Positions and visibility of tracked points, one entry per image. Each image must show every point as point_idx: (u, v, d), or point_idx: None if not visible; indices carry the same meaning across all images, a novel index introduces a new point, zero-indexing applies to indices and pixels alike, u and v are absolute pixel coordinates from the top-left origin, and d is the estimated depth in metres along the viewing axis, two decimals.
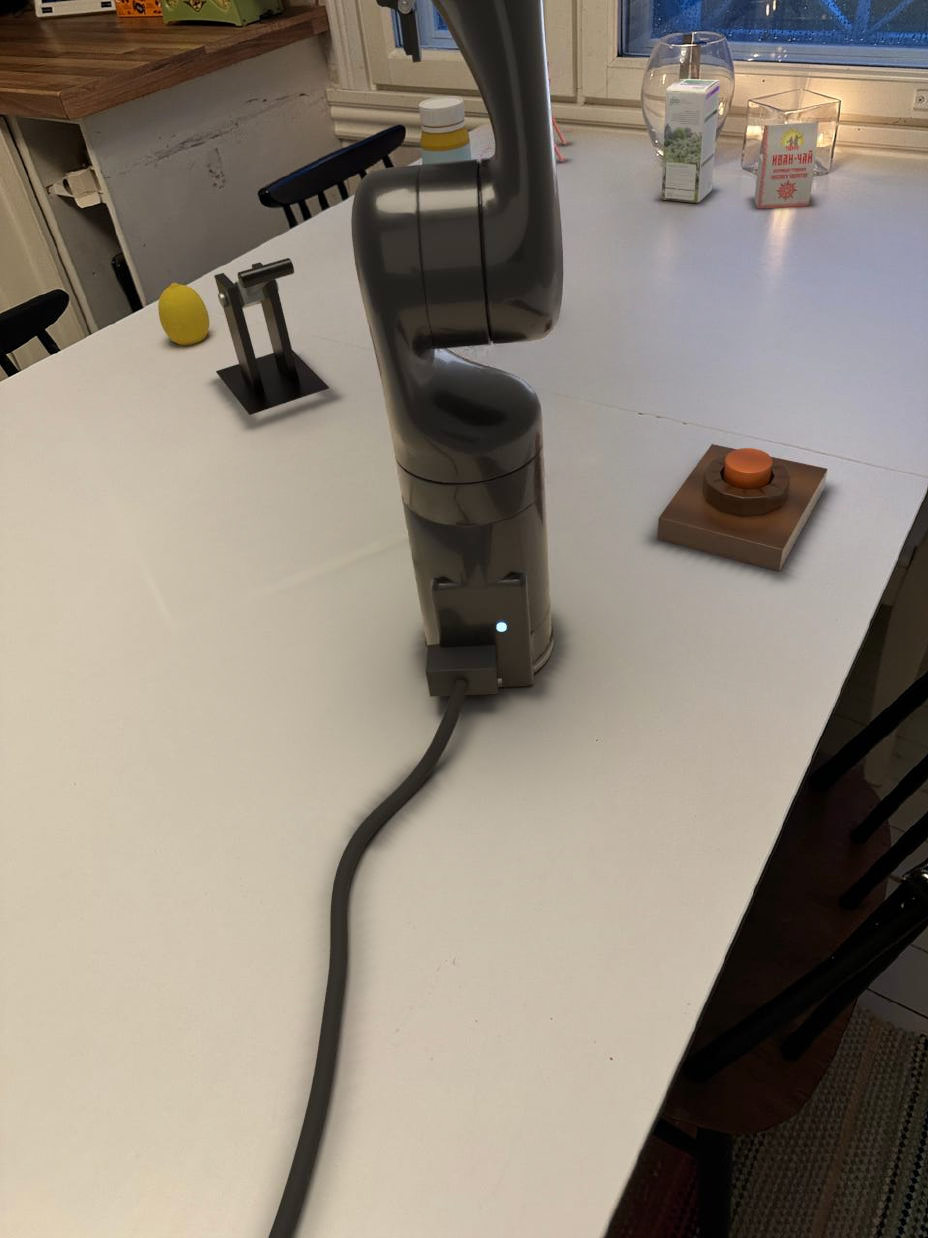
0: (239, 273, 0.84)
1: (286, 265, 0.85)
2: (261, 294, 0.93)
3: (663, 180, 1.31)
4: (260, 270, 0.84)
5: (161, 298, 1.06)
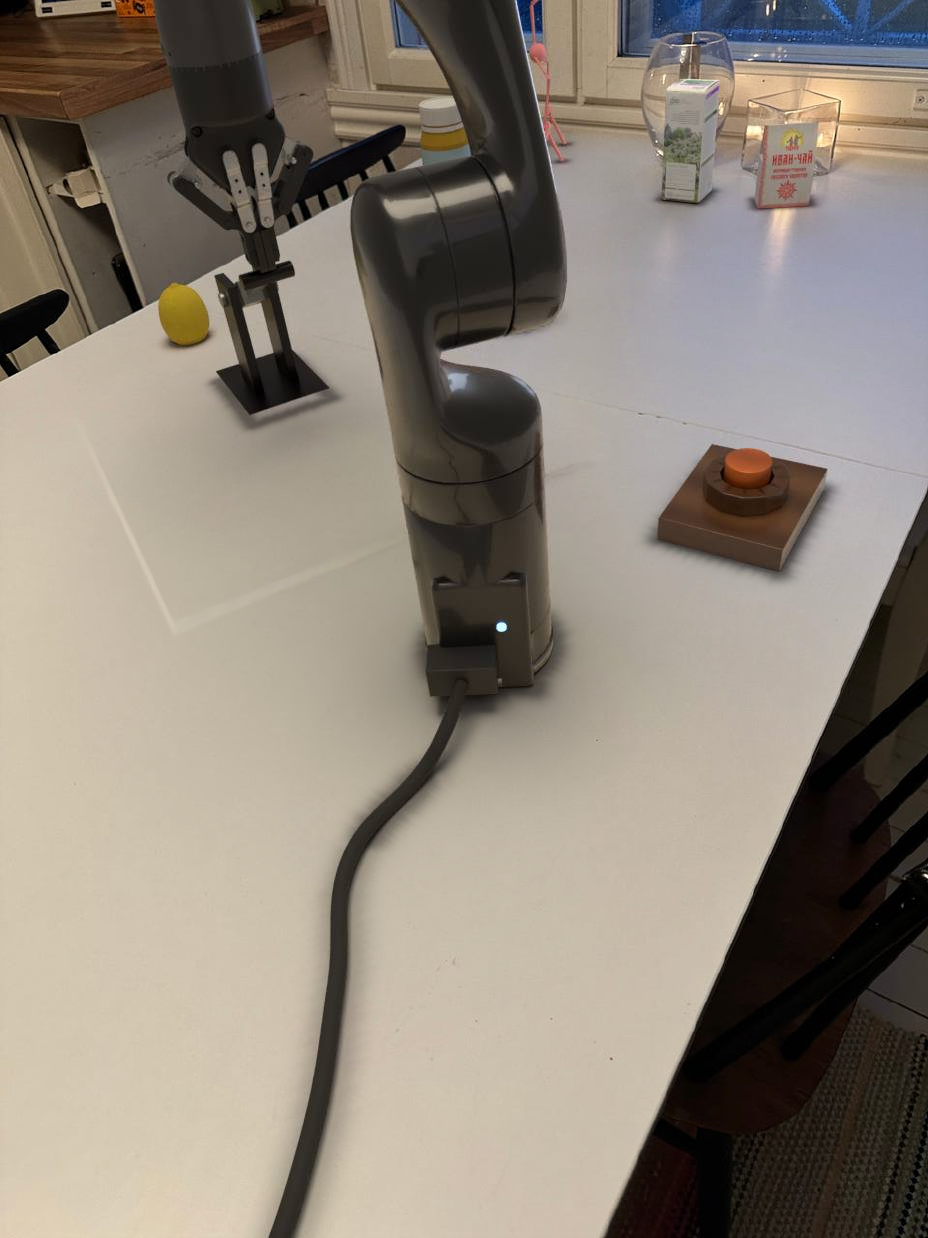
0: (240, 276, 0.84)
1: (287, 267, 0.85)
2: (261, 294, 0.93)
3: (663, 180, 1.31)
4: (261, 273, 0.84)
5: (161, 298, 1.06)
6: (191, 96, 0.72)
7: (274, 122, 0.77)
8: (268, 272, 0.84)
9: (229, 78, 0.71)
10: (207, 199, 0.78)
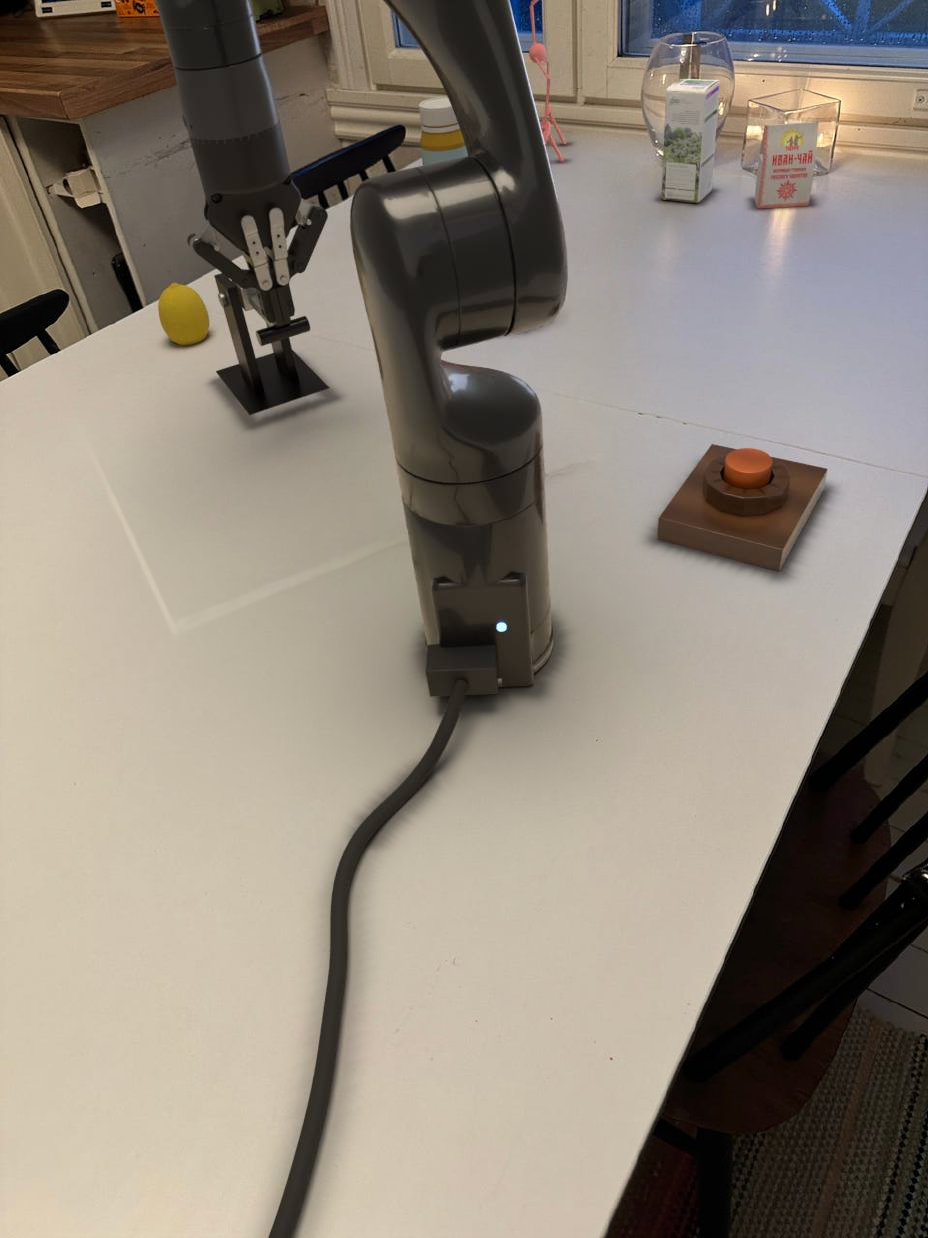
0: (259, 334, 0.86)
1: (304, 327, 0.88)
2: None
3: (663, 180, 1.31)
4: (279, 332, 0.87)
5: (161, 298, 1.06)
6: (212, 166, 0.75)
7: (290, 187, 0.80)
8: (286, 332, 0.87)
9: (248, 150, 0.74)
10: (226, 260, 0.81)
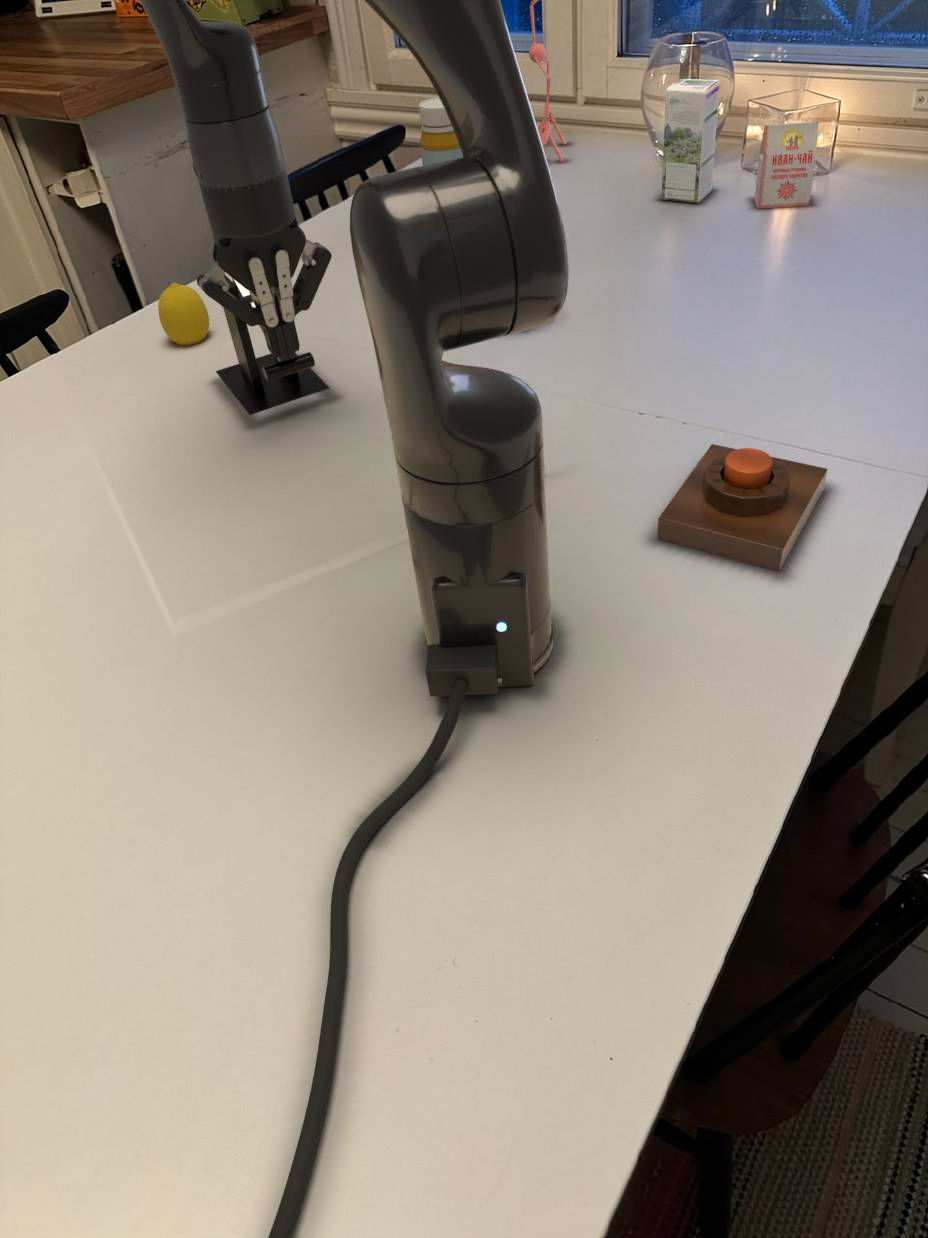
0: (266, 373, 0.90)
1: (309, 365, 0.92)
2: None
3: (663, 180, 1.31)
4: (285, 371, 0.91)
5: (161, 298, 1.06)
6: (221, 213, 0.78)
7: (296, 230, 0.83)
8: (292, 370, 0.91)
9: (256, 197, 0.77)
10: (233, 300, 0.84)
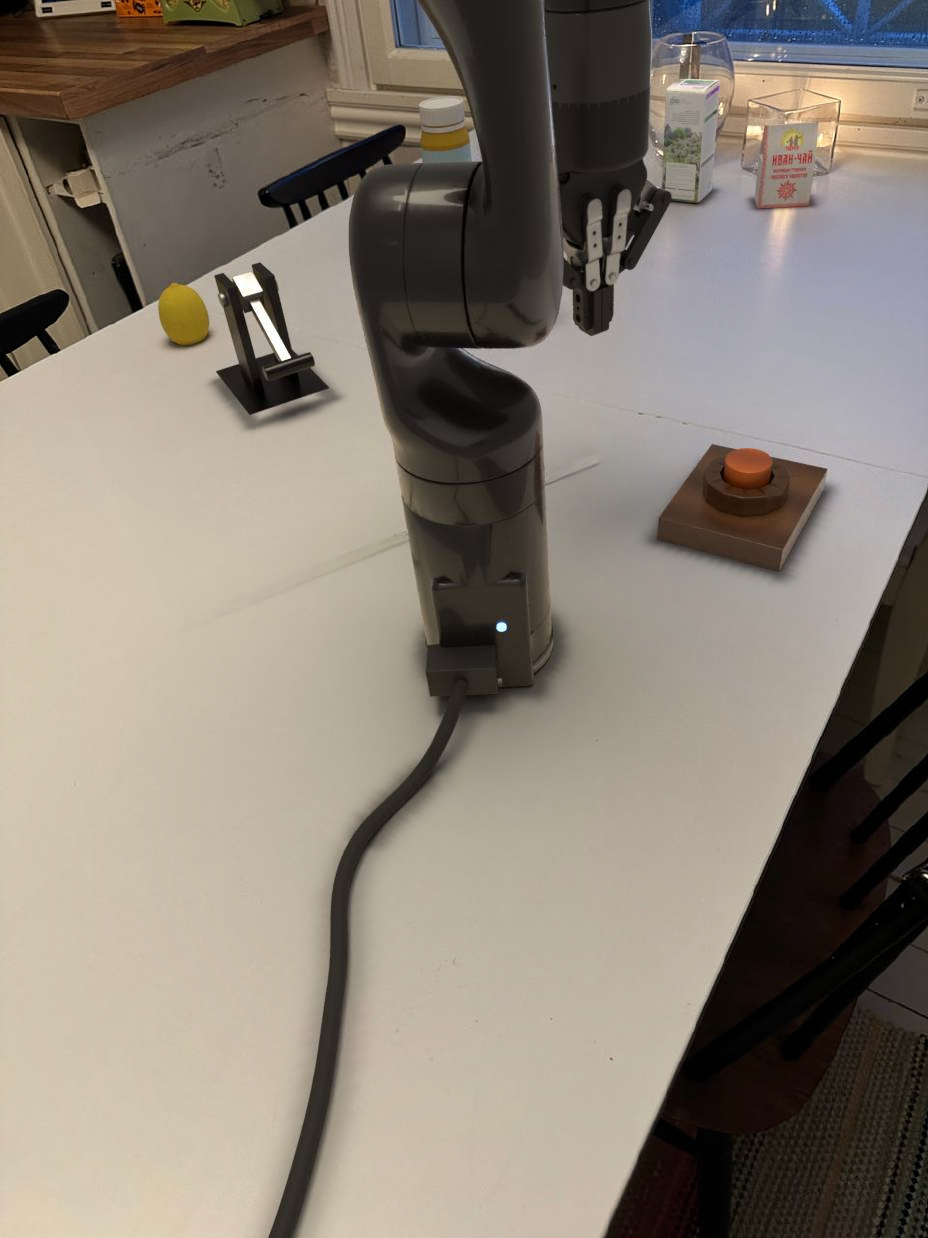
0: (266, 373, 0.90)
1: (309, 365, 0.92)
2: (262, 304, 0.95)
3: (663, 180, 1.31)
4: (285, 371, 0.91)
5: (161, 298, 1.06)
6: (573, 137, 0.60)
7: (641, 164, 0.65)
8: (292, 370, 0.91)
9: (623, 116, 0.59)
10: None
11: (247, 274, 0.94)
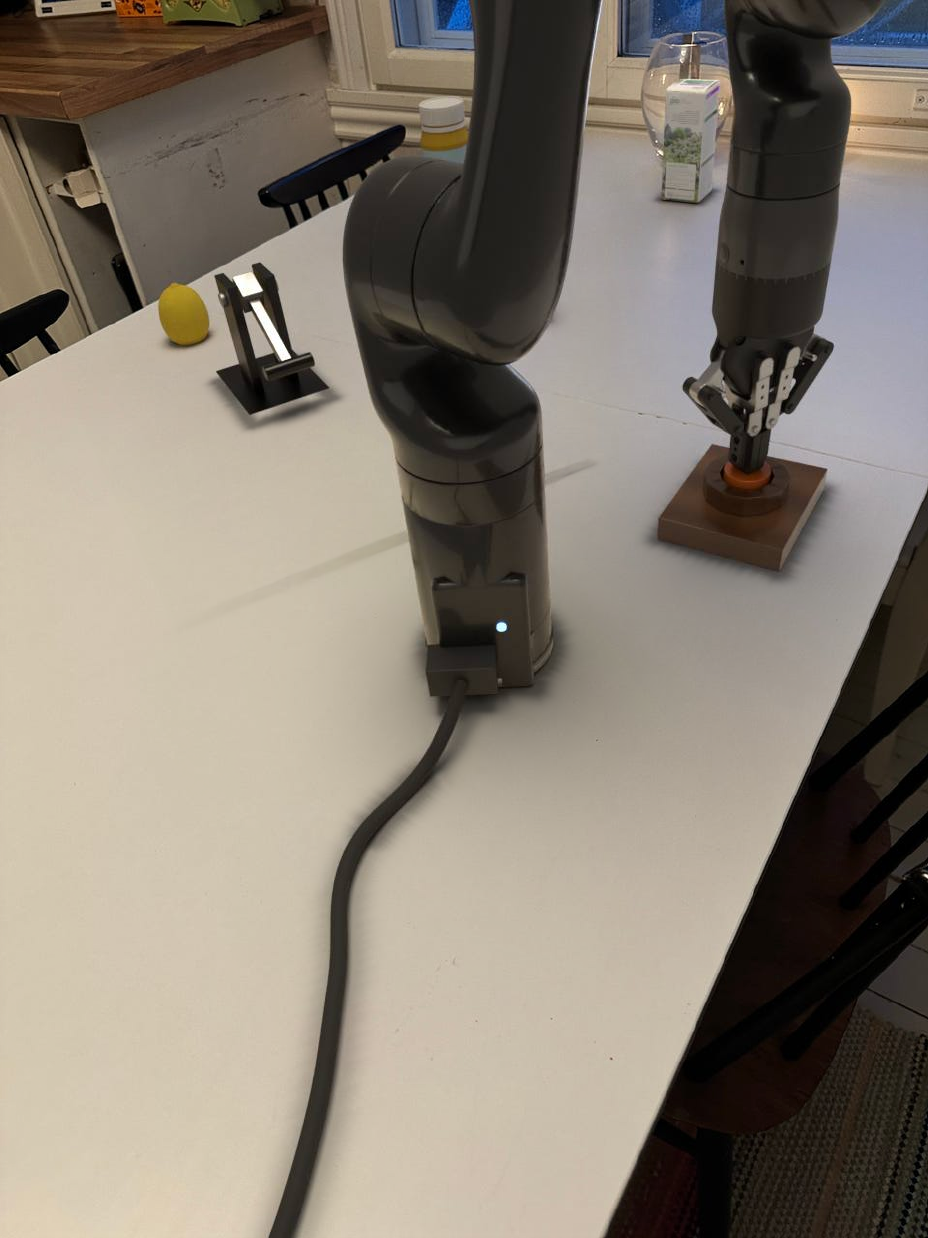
0: (266, 373, 0.90)
1: (309, 365, 0.92)
2: (262, 304, 0.95)
3: (663, 180, 1.31)
4: (285, 371, 0.91)
5: (161, 298, 1.06)
6: (756, 307, 0.62)
7: None
8: (292, 370, 0.91)
9: (807, 289, 0.61)
10: (728, 408, 0.67)
11: (247, 274, 0.94)
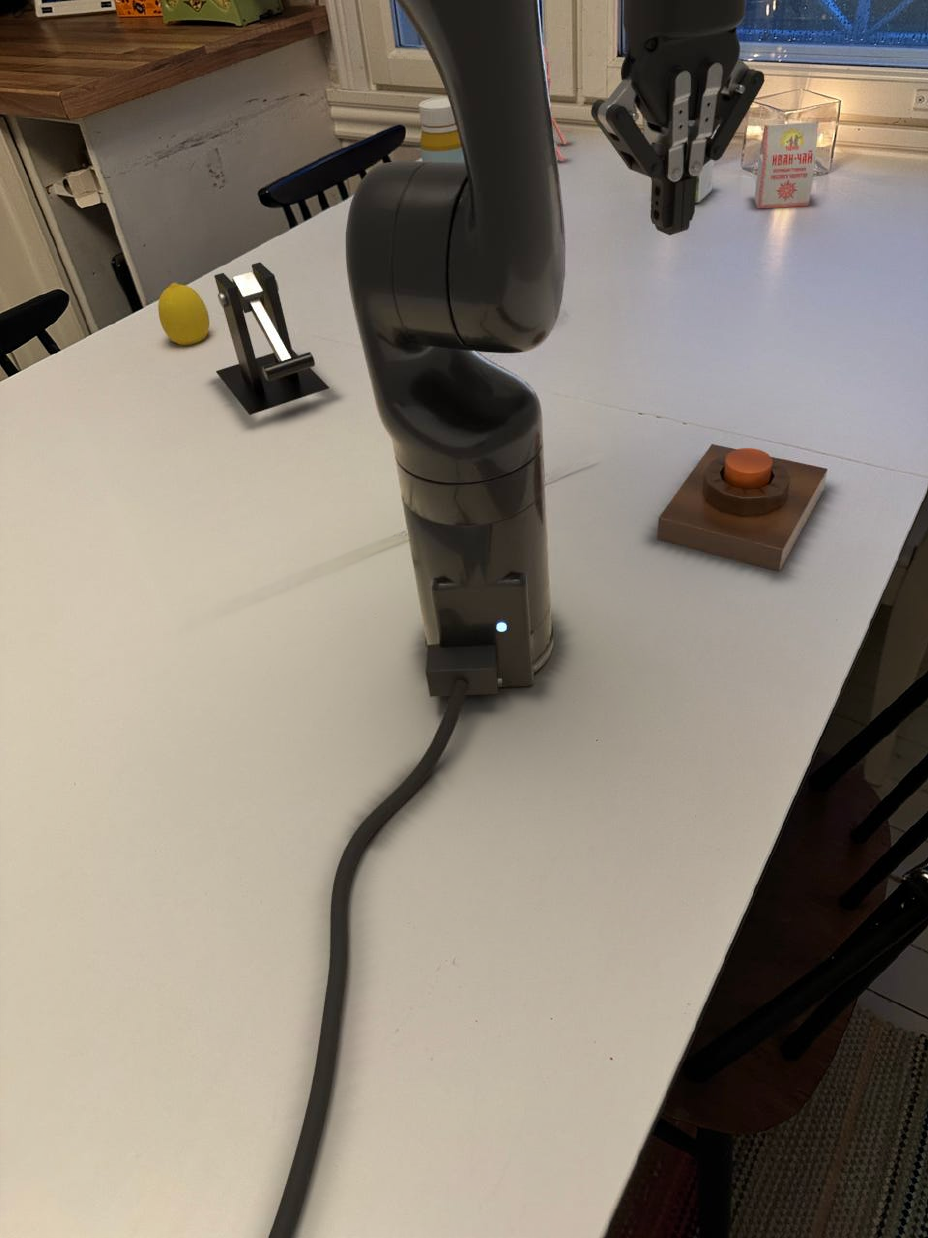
0: (266, 373, 0.90)
1: (309, 365, 0.92)
2: (262, 304, 0.95)
3: None
4: (285, 371, 0.91)
5: (161, 298, 1.06)
6: None
7: (734, 36, 0.60)
8: (292, 370, 0.91)
9: None
10: (641, 136, 0.60)
11: (247, 274, 0.94)
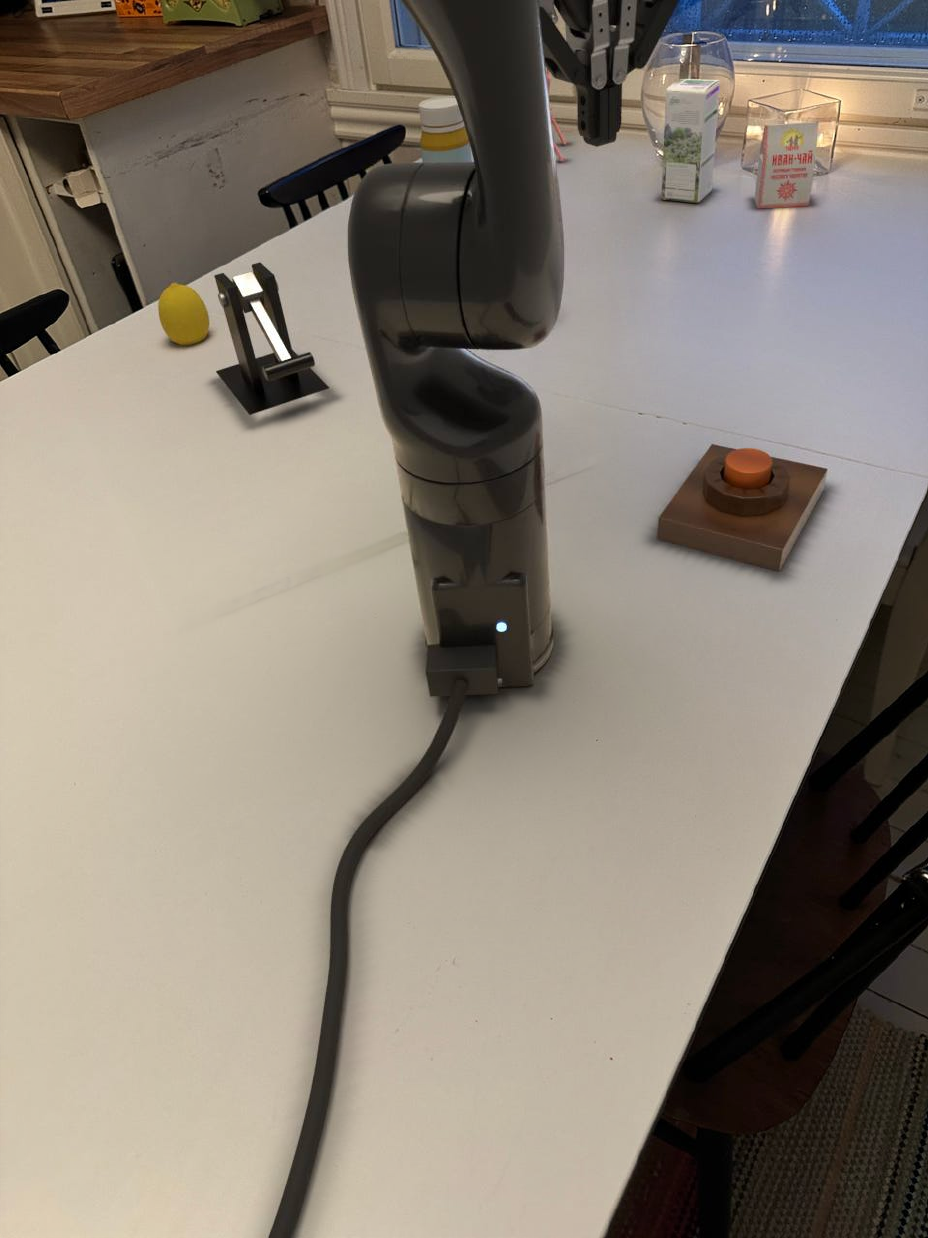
0: (266, 373, 0.90)
1: (309, 365, 0.92)
2: (262, 304, 0.95)
3: (663, 180, 1.31)
4: (285, 371, 0.91)
5: (161, 298, 1.06)
6: None
7: None
8: (292, 370, 0.91)
9: None
10: (562, 39, 0.61)
11: (247, 274, 0.94)
